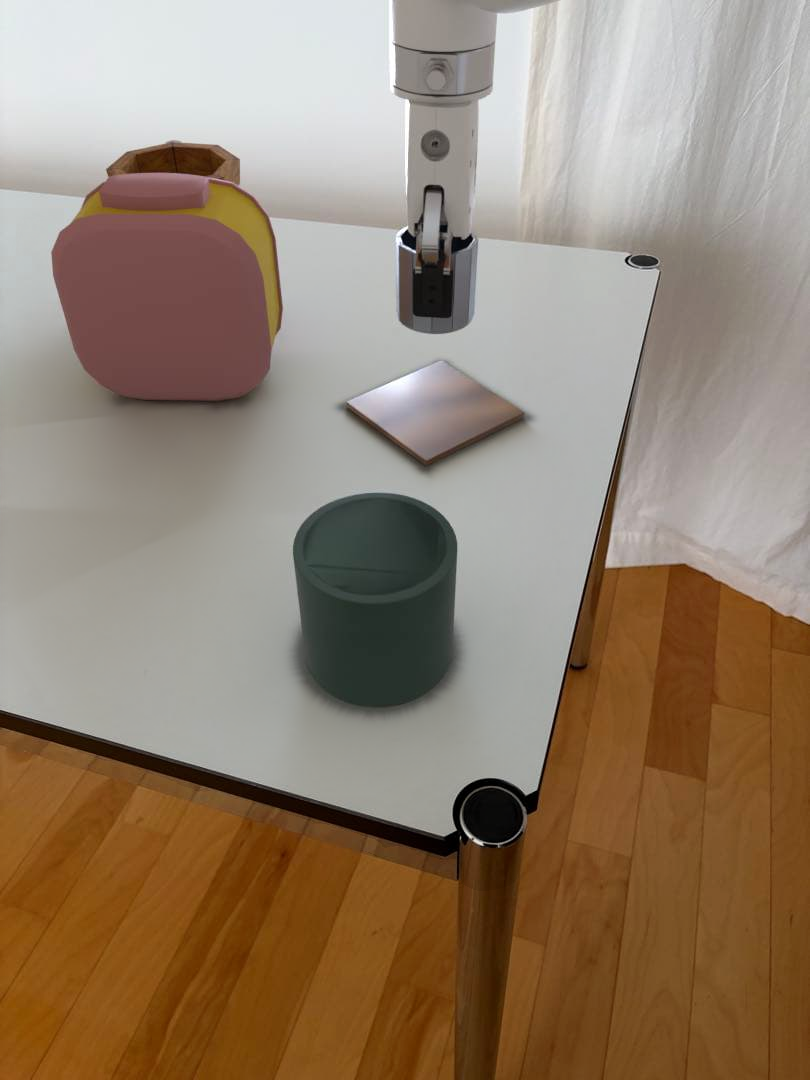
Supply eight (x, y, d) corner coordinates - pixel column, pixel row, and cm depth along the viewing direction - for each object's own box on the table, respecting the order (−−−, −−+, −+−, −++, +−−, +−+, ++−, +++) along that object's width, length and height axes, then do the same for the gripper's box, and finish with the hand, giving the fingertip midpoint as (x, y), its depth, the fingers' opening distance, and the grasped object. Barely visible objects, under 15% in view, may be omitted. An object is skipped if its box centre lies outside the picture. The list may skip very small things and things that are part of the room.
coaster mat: (524, 417, 84) (524, 412, 84) (426, 466, 79) (426, 461, 79) (441, 365, 91) (441, 359, 91) (345, 406, 86) (345, 401, 85)
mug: (261, 321, 98) (244, 183, 88) (135, 334, 96) (103, 194, 86) (247, 246, 112) (231, 119, 102) (137, 256, 110) (109, 128, 100)
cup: (488, 318, 78) (493, 240, 73) (430, 342, 75) (432, 263, 70) (439, 290, 82) (441, 214, 77) (382, 312, 79) (380, 235, 74)
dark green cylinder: (483, 656, 63) (491, 552, 56) (364, 734, 58) (358, 630, 51) (391, 575, 69) (389, 472, 62) (276, 639, 64) (261, 535, 57)
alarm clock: (289, 350, 94) (270, 160, 81) (275, 409, 86) (251, 209, 72) (113, 348, 94) (66, 158, 81) (82, 407, 86) (24, 207, 73)
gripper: (489, 107, 58) (474, 348, 70) (497, 37, 71) (484, 252, 83) (374, 103, 59) (379, 343, 71) (403, 34, 72) (403, 248, 84)
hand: (436, 292), depth 77 cm, fingers closed on cup, 6 cm apart
